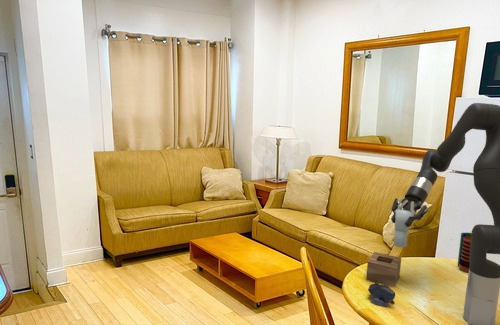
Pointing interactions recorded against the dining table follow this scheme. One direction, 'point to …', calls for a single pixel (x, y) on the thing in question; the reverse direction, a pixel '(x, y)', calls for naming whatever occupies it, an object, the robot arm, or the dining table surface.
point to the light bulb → (401, 228)
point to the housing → (383, 269)
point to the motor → (464, 252)
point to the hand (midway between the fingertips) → (399, 223)
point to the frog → (381, 294)
